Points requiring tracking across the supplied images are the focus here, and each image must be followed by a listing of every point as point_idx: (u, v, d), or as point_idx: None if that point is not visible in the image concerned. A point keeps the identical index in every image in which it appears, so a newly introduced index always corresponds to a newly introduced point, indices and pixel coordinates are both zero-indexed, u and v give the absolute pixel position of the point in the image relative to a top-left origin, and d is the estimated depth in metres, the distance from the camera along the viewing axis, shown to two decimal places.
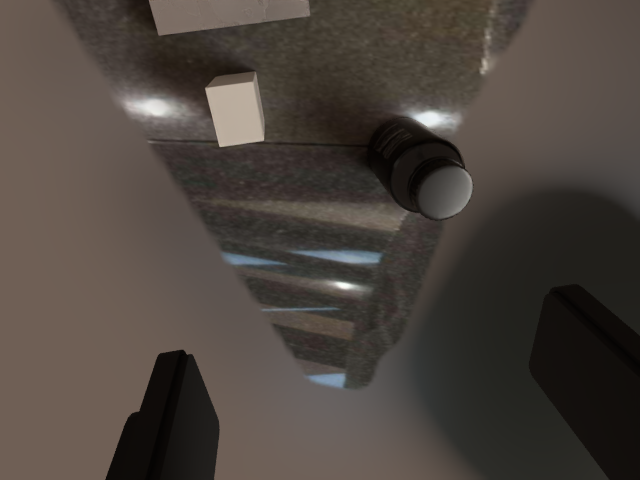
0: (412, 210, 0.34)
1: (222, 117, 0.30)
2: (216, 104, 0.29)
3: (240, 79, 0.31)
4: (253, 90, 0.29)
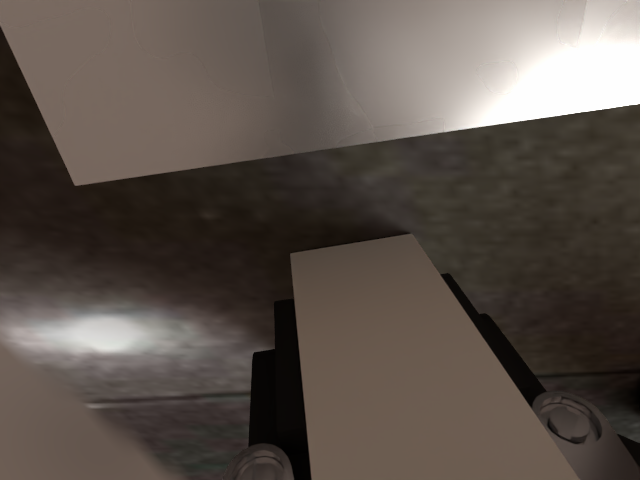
0: None
1: None
2: None
3: (437, 364, 0.07)
4: None
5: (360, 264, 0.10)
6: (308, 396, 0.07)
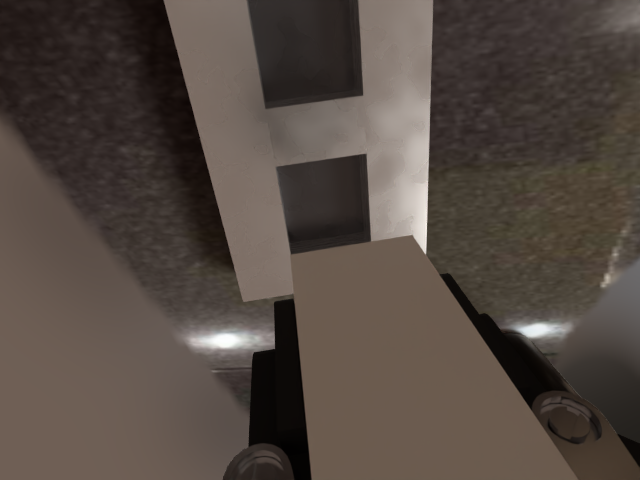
0: None
1: None
2: None
3: (437, 366, 0.07)
4: None
5: (360, 265, 0.10)
6: (308, 398, 0.07)
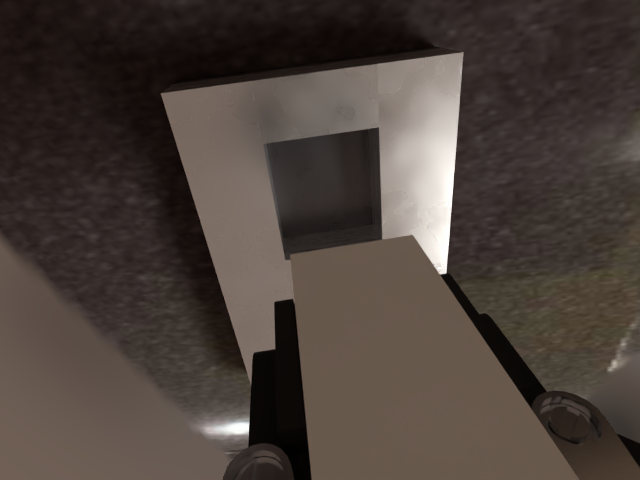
0: None
1: None
2: None
3: (438, 366, 0.07)
4: None
5: (361, 265, 0.10)
6: (308, 399, 0.07)
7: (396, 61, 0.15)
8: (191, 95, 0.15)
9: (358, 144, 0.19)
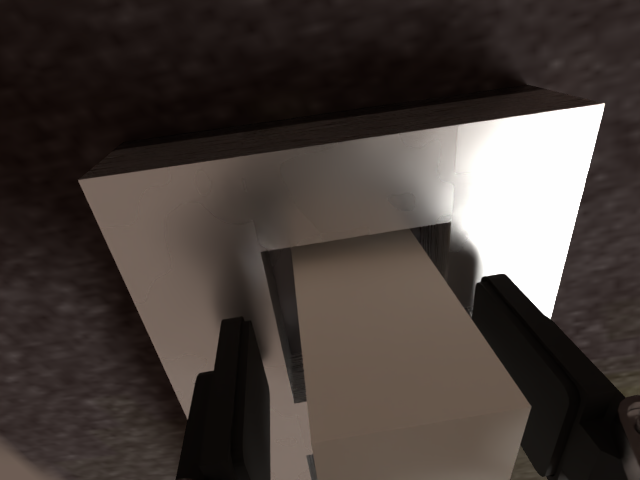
0: None
1: None
2: None
3: (418, 320, 0.08)
4: (519, 431, 0.07)
5: (353, 241, 0.11)
6: (305, 344, 0.08)
7: (490, 119, 0.09)
8: (133, 183, 0.08)
9: None
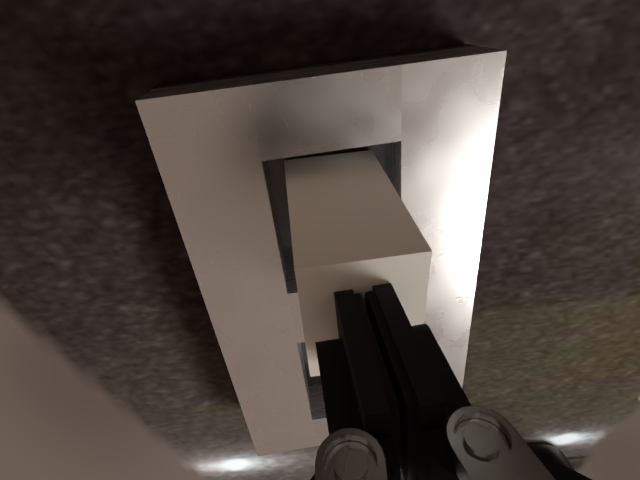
0: None
1: (328, 326, 0.11)
2: (318, 302, 0.11)
3: (371, 211, 0.12)
4: (427, 270, 0.10)
5: (332, 166, 0.15)
6: (292, 224, 0.11)
7: (424, 61, 0.12)
8: (173, 104, 0.12)
9: None
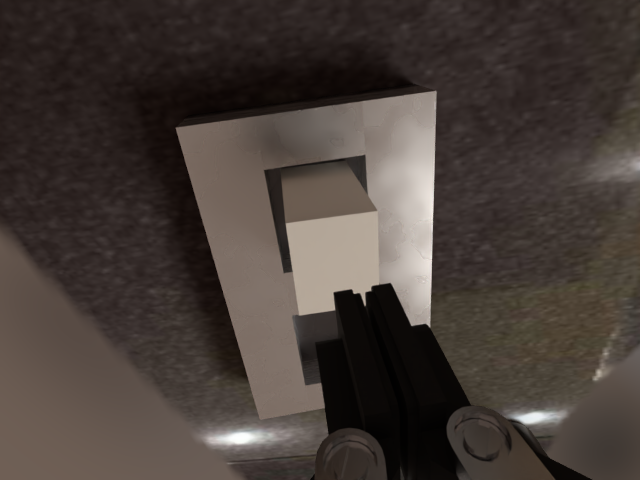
0: None
1: (311, 270, 0.16)
2: (302, 250, 0.15)
3: (340, 193, 0.17)
4: (376, 225, 0.15)
5: (315, 170, 0.20)
6: (285, 202, 0.17)
7: (378, 99, 0.18)
8: (202, 129, 0.17)
9: None
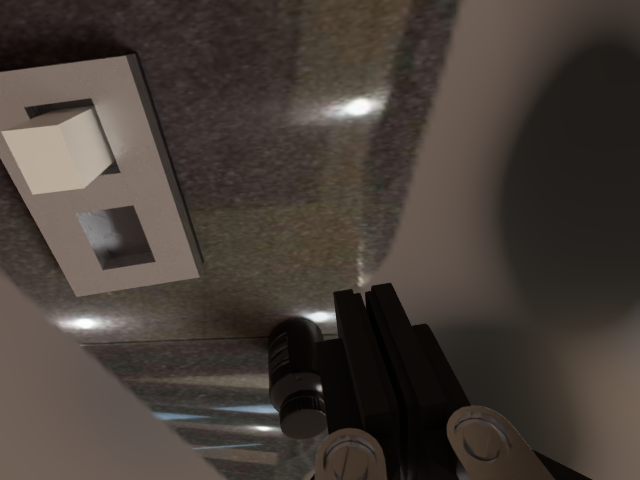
0: None
1: (29, 163, 0.26)
2: (18, 149, 0.26)
3: (57, 119, 0.27)
4: (60, 134, 0.26)
5: (69, 110, 0.30)
6: (20, 123, 0.27)
7: (89, 60, 0.28)
8: None
9: None
